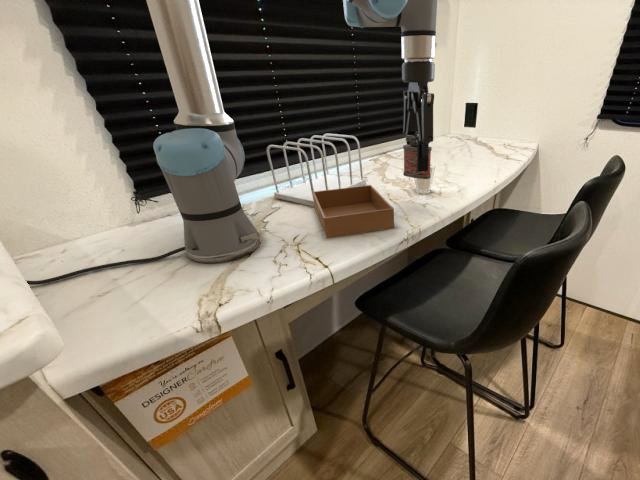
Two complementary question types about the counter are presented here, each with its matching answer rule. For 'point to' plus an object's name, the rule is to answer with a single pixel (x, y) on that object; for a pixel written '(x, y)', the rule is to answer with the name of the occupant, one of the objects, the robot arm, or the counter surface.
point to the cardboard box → (352, 211)
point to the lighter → (414, 159)
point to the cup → (423, 182)
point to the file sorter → (321, 183)
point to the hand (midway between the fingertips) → (416, 167)
